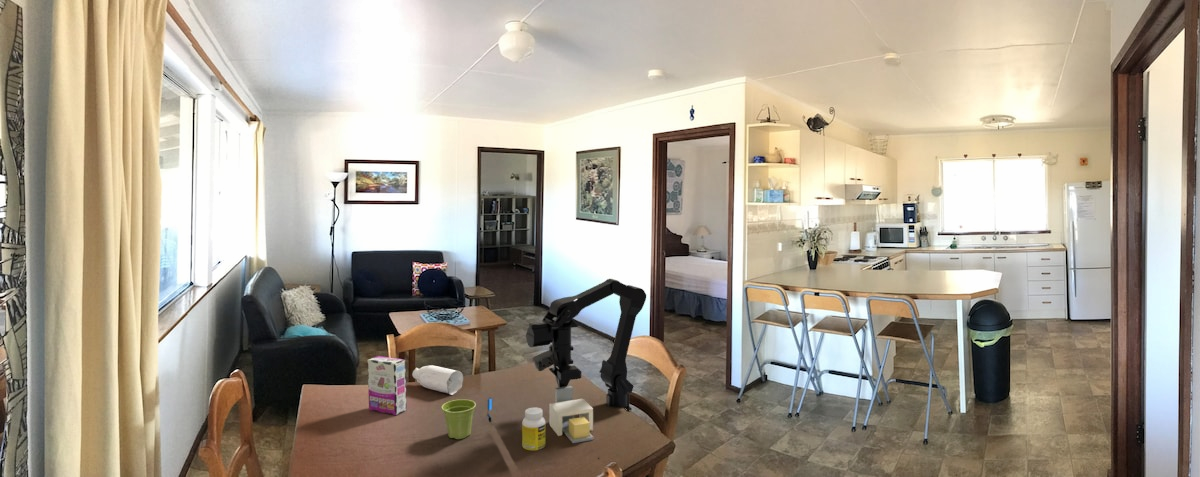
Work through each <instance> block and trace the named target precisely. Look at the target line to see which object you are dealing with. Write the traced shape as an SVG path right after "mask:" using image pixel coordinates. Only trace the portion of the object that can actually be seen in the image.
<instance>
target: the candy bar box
mask: <svg viewBox="0 0 1200 477" xmlns="http://www.w3.org/2000/svg"><path fill="white" fill-rule="evenodd" d="M406 371H407V370H406V359H402V358H395V357H390V356H389V357H387V356H382V355H376V356H374V357H372V358H369V359H367V385H368V388H367V389H368V410H369V411H371V412H377V413H382V414H386V415H393V416H398V415H400V414H402V413H404V412H406V411H407V383H406V382H407V380H406V379H407V377H406V376H407V375H406Z"/></svg>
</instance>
